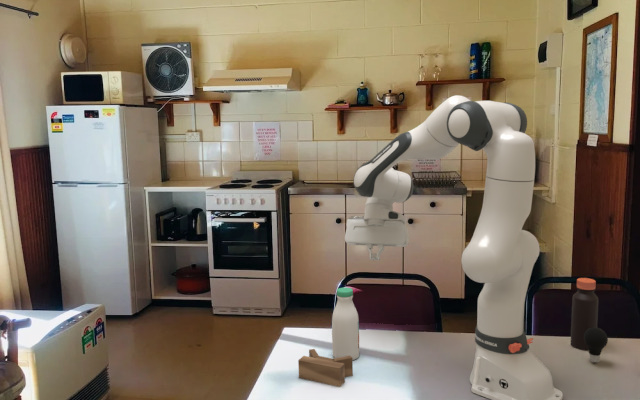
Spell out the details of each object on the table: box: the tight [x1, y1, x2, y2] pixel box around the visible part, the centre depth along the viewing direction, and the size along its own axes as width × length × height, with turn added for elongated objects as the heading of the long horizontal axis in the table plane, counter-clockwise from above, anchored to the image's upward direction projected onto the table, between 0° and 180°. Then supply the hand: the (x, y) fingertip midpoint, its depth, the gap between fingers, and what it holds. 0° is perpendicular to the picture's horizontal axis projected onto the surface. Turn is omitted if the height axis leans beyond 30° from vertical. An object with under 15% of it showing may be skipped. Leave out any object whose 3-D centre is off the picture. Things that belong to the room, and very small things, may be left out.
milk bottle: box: [331, 286, 360, 361], centre depth 155 cm, size 8×8×20 cm
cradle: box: [298, 348, 354, 387], centre depth 145 cm, size 8×13×5 cm, turn 63°
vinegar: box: [570, 277, 599, 351], centre depth 158 cm, size 7×7×20 cm
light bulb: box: [584, 326, 609, 364], centre depth 148 cm, size 6×6×10 cm
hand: (374, 259), depth 168 cm, fingers closed
